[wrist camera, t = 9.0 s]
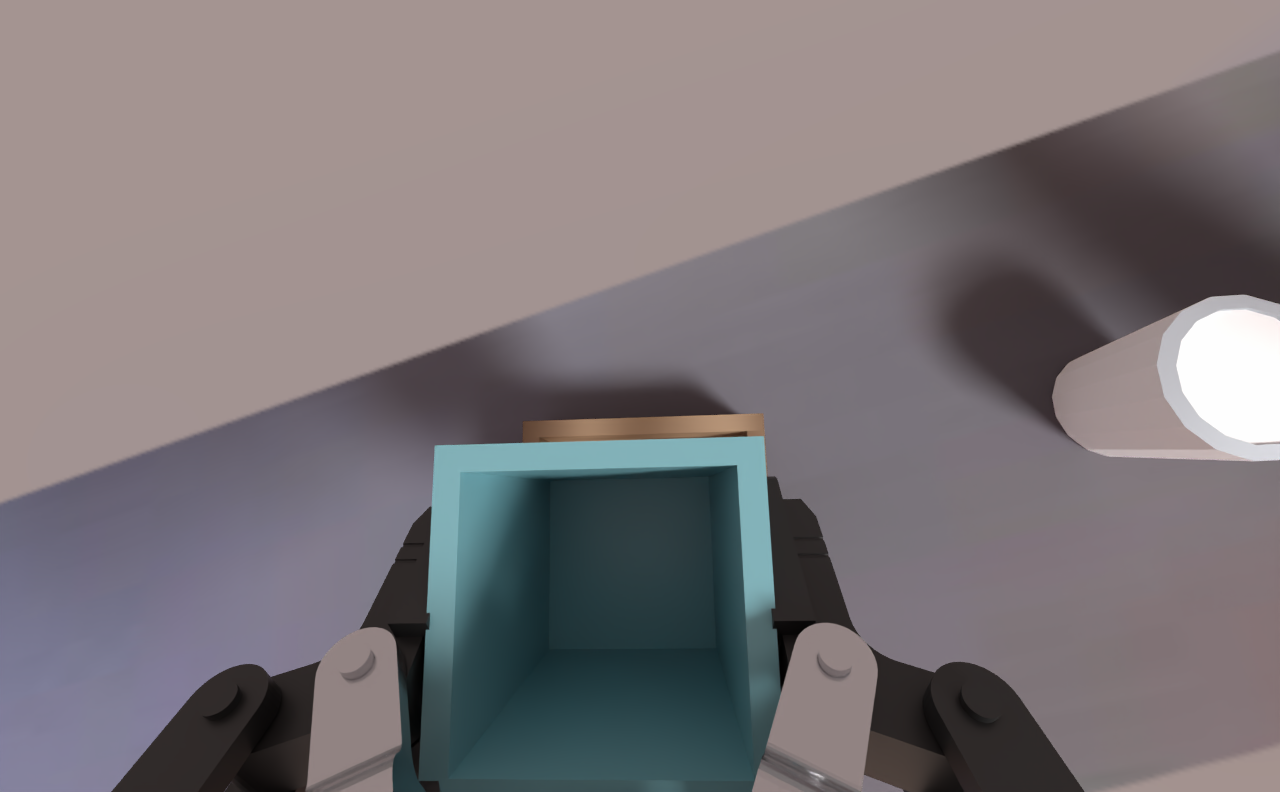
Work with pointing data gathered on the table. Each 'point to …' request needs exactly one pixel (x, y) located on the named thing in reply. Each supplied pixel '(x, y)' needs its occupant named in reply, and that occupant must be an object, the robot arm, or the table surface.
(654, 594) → the teal crate
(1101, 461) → the table surface
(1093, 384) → the white cylinder
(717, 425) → the walnut crate
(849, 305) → the table surface
